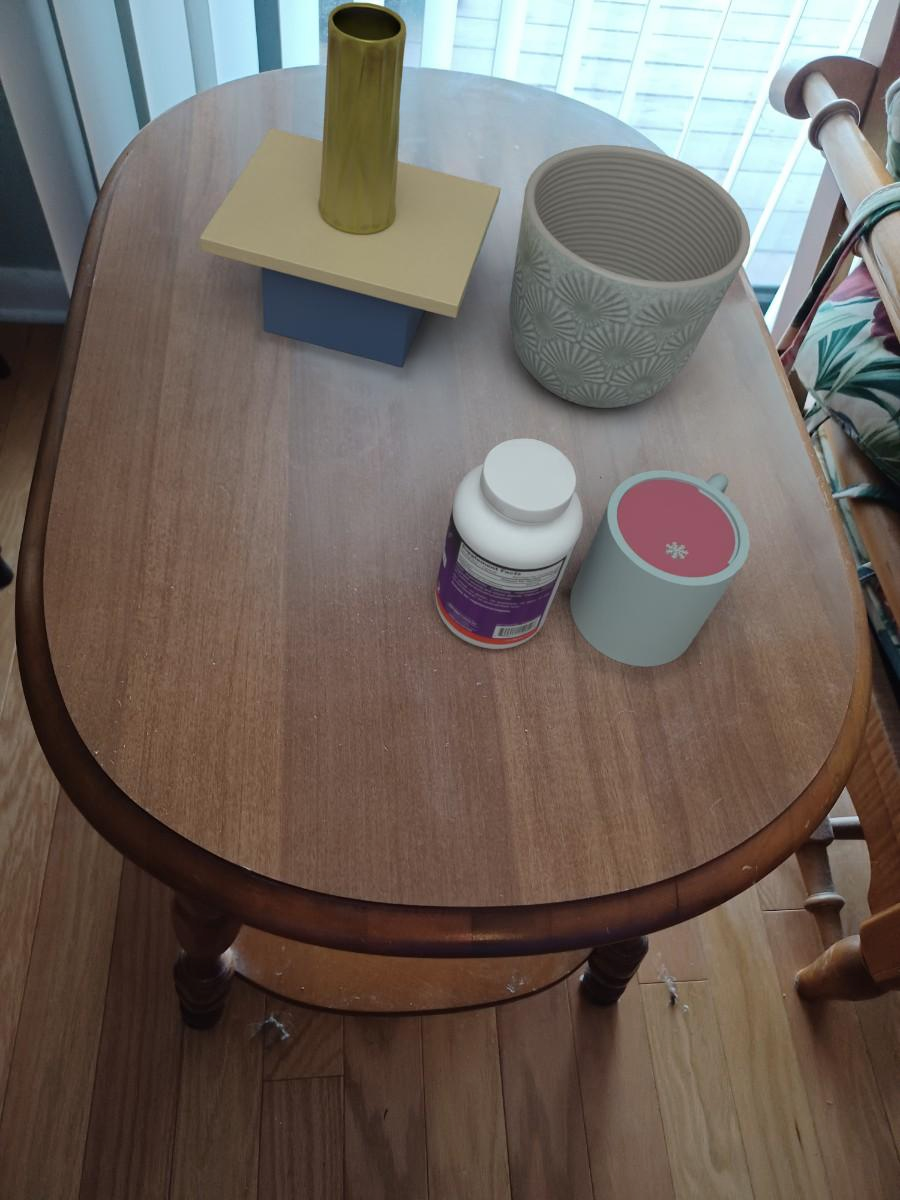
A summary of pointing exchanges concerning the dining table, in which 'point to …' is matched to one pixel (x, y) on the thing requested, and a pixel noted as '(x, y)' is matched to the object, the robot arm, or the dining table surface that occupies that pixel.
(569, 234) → the planter
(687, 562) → the mug
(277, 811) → the dining table surface
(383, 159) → the vase
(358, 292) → the box
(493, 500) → the pill bottle
